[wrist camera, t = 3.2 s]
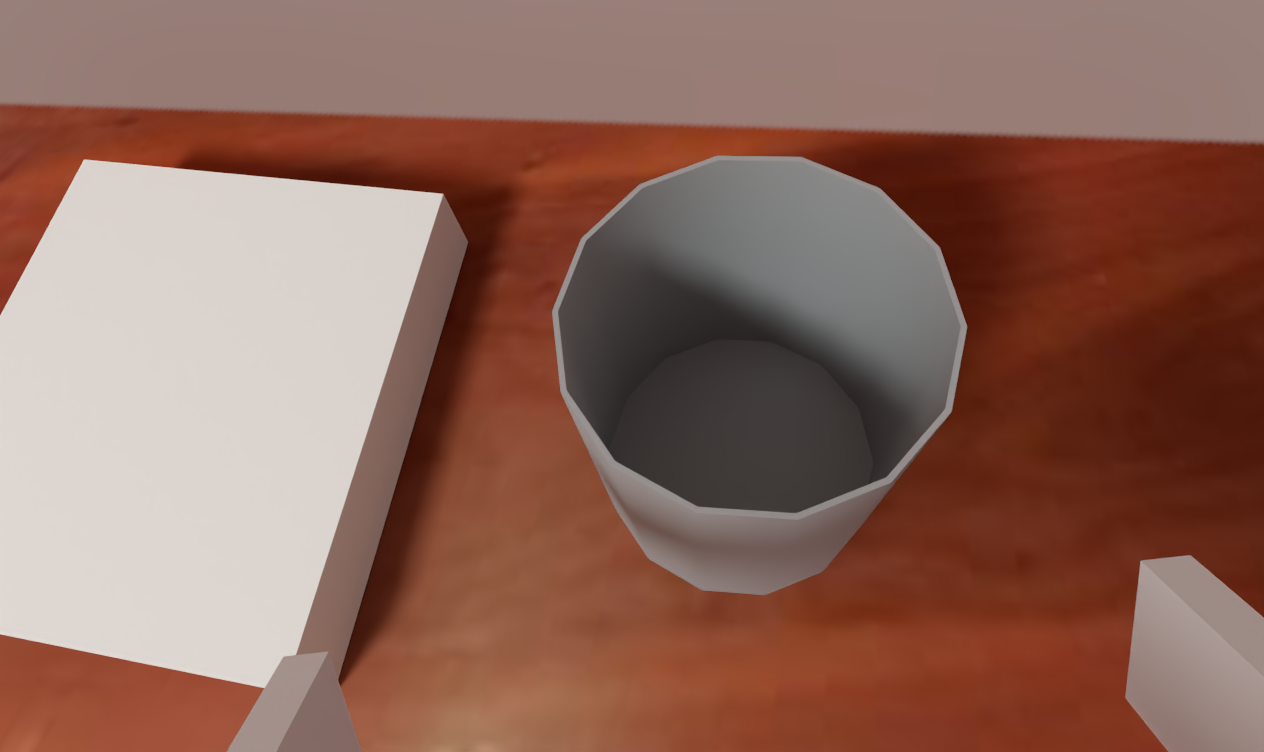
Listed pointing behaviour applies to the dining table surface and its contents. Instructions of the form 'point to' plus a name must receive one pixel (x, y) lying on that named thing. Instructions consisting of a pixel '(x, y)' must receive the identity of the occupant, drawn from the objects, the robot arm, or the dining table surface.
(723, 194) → the cup
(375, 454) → the raised board
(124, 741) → the dining table surface
